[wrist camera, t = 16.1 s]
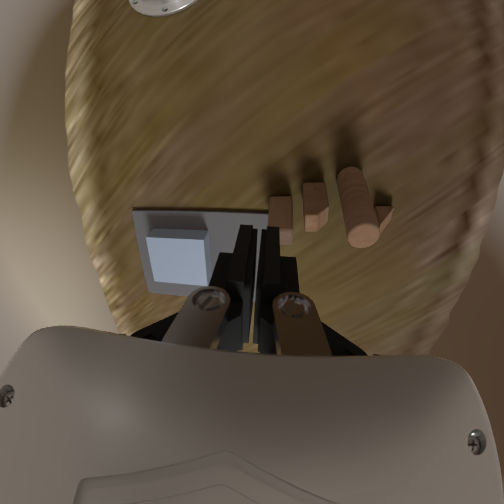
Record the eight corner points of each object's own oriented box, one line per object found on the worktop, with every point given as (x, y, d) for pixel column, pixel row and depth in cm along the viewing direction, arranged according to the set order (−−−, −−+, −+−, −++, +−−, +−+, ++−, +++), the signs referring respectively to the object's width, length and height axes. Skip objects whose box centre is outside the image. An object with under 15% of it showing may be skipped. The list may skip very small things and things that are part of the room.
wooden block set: (272, 212, 42) (269, 270, 36) (267, 166, 35) (262, 224, 29) (387, 212, 39) (402, 268, 33) (399, 168, 32) (424, 224, 26)
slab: (208, 230, 41) (153, 228, 41) (203, 240, 38) (145, 237, 39) (211, 275, 45) (160, 271, 45) (207, 286, 42) (154, 281, 43)
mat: (133, 209, 40) (132, 211, 40) (274, 213, 39) (274, 214, 38) (149, 290, 49) (148, 292, 48) (269, 300, 47) (269, 302, 47)
